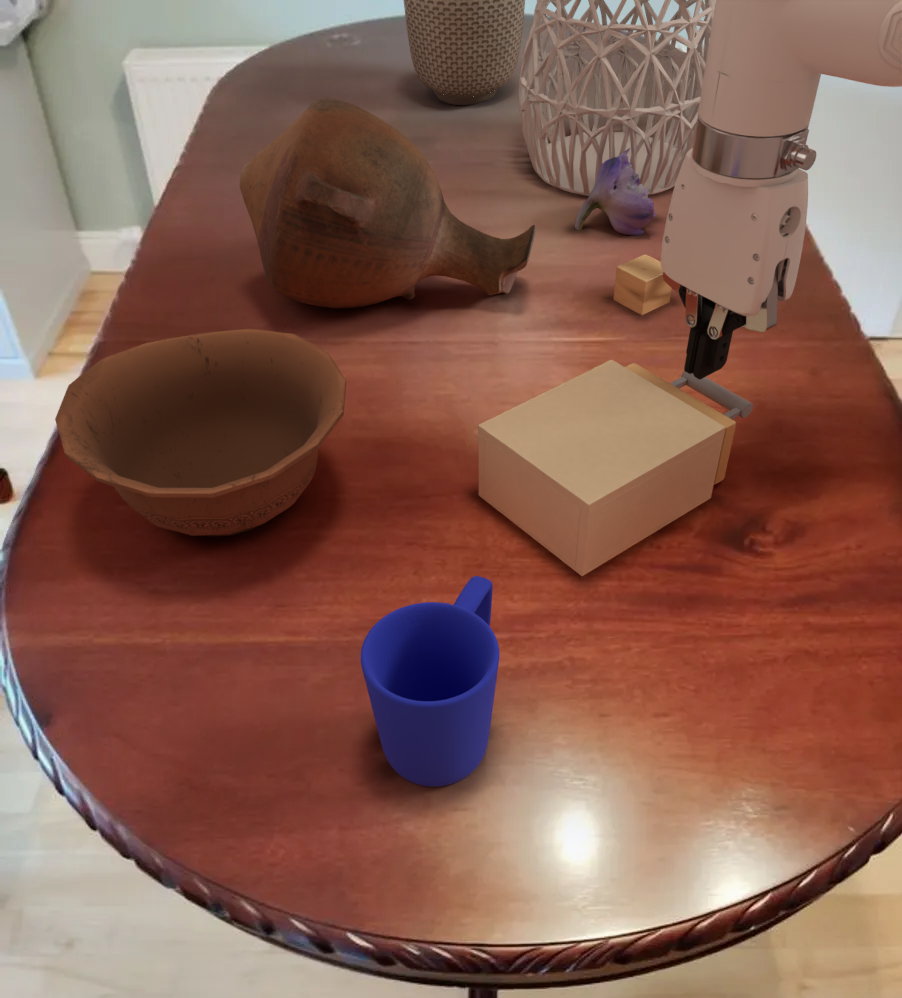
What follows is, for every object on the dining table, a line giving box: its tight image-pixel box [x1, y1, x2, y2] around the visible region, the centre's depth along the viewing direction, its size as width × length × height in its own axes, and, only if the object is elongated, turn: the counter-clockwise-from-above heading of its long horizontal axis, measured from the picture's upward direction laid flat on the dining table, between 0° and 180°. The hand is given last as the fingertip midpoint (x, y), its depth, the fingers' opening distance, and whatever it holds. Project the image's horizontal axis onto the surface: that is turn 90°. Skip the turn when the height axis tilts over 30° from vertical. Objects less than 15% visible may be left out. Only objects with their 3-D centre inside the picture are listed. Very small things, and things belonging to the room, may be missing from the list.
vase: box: [518, 0, 716, 197], centre depth 119 cm, size 24×24×30 cm
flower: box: [573, 148, 657, 236], centre depth 115 cm, size 9×9×10 cm
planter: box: [403, 0, 526, 106], centre depth 143 cm, size 17×17×16 cm
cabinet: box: [477, 359, 726, 577], centre depth 81 cm, size 15×13×8 cm
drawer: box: [624, 362, 754, 485], centre depth 83 cm, size 19×11×6 cm, turn 128°
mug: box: [360, 575, 501, 788], centre depth 64 cm, size 8×12×10 cm
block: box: [612, 253, 673, 316], centre depth 104 cm, size 4×4×4 cm
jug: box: [239, 98, 537, 309], centre depth 101 cm, size 20×20×30 cm
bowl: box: [54, 328, 347, 537], centre depth 80 cm, size 22×22×11 cm
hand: (703, 369), depth 83 cm, fingers closed
